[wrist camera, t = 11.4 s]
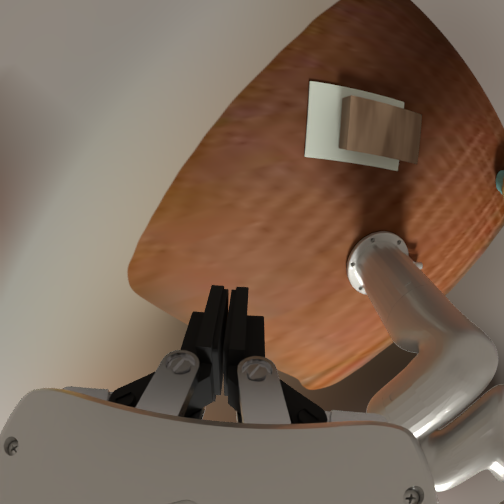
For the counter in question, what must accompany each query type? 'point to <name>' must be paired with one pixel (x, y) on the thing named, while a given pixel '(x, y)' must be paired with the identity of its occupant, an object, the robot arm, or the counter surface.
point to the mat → (338, 125)
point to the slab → (379, 129)
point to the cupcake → (500, 181)
